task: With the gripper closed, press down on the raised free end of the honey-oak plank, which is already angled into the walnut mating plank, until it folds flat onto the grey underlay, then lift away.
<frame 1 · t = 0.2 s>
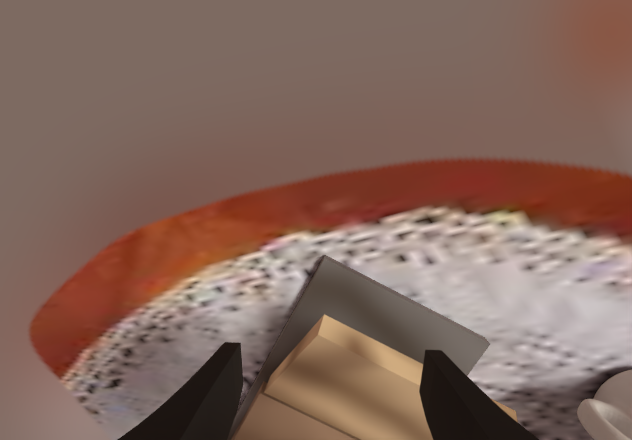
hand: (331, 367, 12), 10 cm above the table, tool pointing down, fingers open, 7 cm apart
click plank: (373, 400, 19), point 4 cm above the table, hinge at 30.0°
floor board: (335, 407, 24), on the table
cup: (608, 393, 23), on the table
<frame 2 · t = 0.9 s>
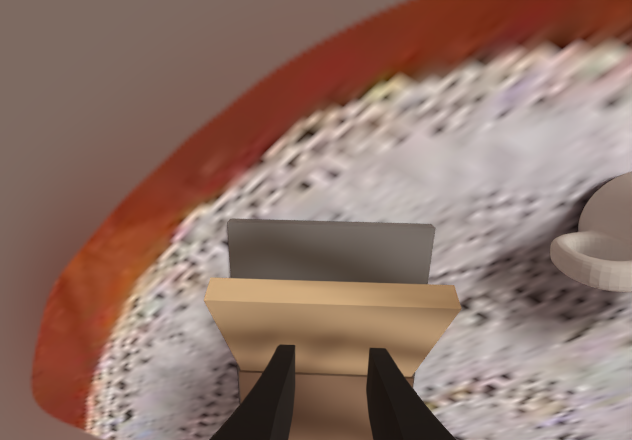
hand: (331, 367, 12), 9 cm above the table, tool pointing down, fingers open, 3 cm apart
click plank: (328, 335, 18), point 4 cm above the table, hinge at 30.0°
floor board: (325, 355, 23), on the table
cup: (596, 220, 20), on the table
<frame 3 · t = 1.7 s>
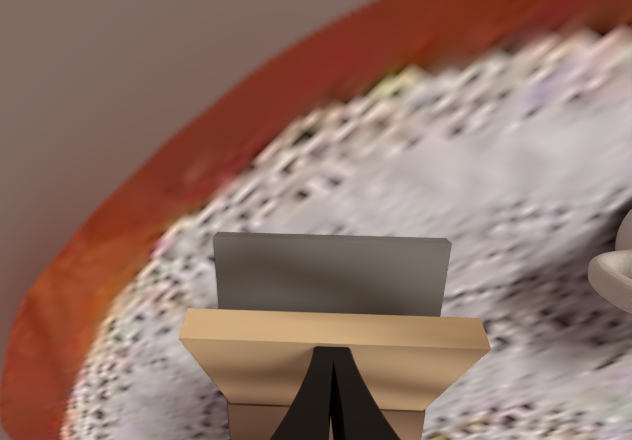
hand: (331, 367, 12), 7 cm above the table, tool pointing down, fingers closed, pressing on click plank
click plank: (328, 369, 16), point 4 cm above the table, hinge at 30.0°, touching gripper
floor board: (325, 382, 21), on the table
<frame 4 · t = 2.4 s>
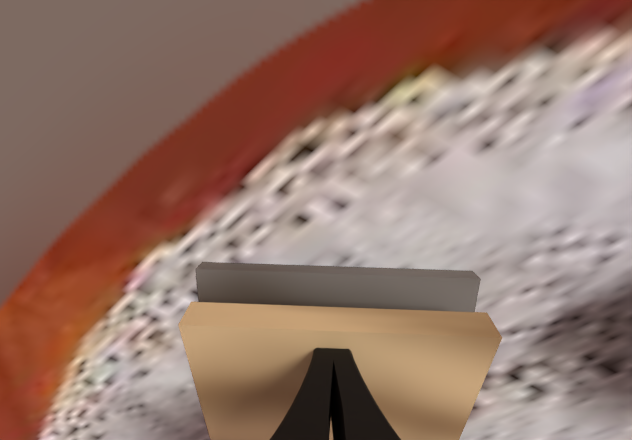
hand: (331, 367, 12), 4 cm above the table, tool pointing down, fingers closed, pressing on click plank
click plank: (332, 397, 14), point 3 cm above the table, hinge at 12.2°, touching gripper
floor board: (328, 434, 18), on the table
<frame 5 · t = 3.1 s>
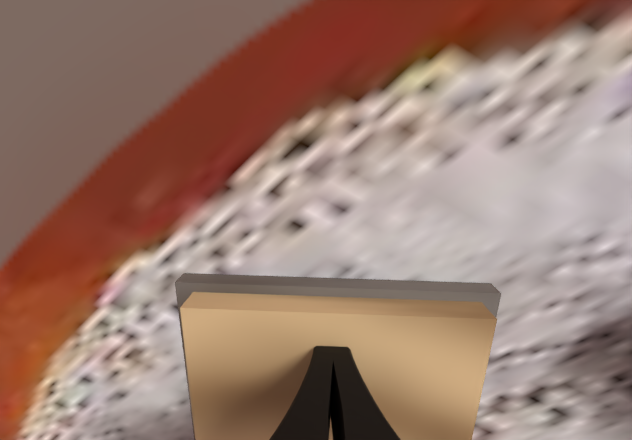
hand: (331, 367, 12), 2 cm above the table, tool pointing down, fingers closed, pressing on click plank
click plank: (331, 405, 13), point 1 cm above the table, hinge at -0.4°, touching floor board, gripper
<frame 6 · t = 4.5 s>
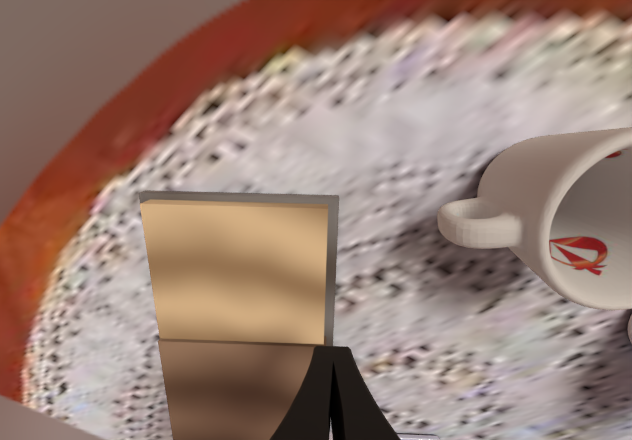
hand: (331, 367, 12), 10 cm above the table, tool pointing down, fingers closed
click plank: (239, 274, 21), point 1 cm above the table, hinge at -0.4°, touching floor board
floor board: (248, 326, 24), on the table
cup: (497, 191, 21), on the table
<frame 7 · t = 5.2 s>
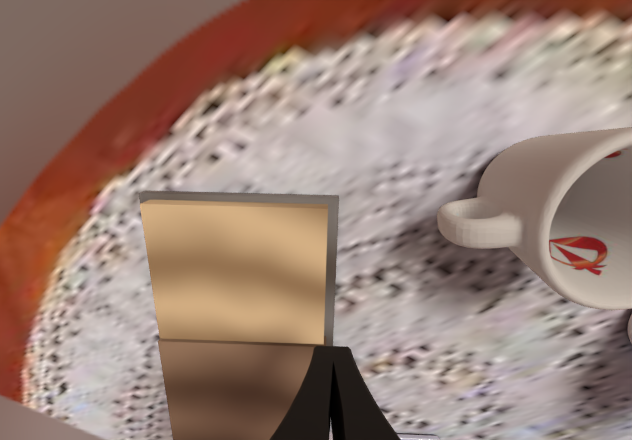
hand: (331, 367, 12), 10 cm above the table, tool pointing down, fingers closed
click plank: (239, 274, 21), point 1 cm above the table, hinge at -0.4°, touching floor board
floor board: (248, 326, 24), on the table
cup: (497, 191, 21), on the table
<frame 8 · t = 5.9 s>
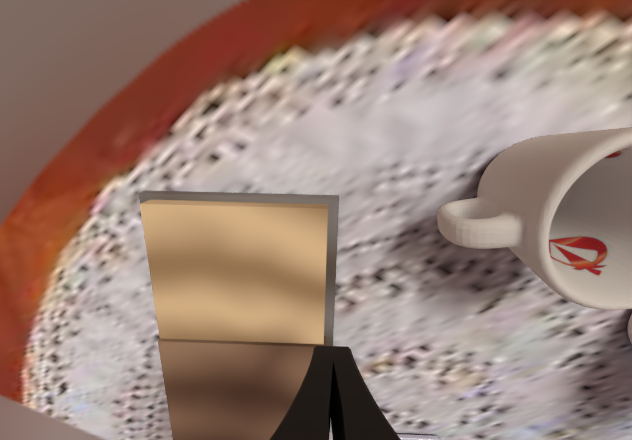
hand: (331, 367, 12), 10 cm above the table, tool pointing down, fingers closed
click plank: (239, 274, 21), point 1 cm above the table, hinge at -0.4°, touching floor board
floor board: (248, 326, 24), on the table
cup: (497, 191, 21), on the table
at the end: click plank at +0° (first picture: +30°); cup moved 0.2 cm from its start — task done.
